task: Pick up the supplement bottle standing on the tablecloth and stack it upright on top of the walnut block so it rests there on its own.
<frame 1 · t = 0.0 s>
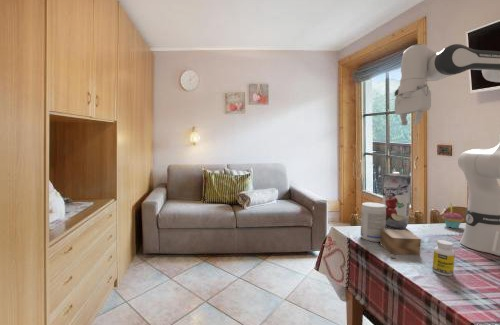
hand: (410, 124, 107), 48 cm above the table, tool pointing down, fingers open, 8 cm apart
juice carton: (394, 227, 132), on the table
cupcake: (452, 227, 134), on the table
supplement tub: (372, 238, 116), on the table
supplement bottle: (442, 272, 87), on the table
walnut block: (399, 249, 105), on the table
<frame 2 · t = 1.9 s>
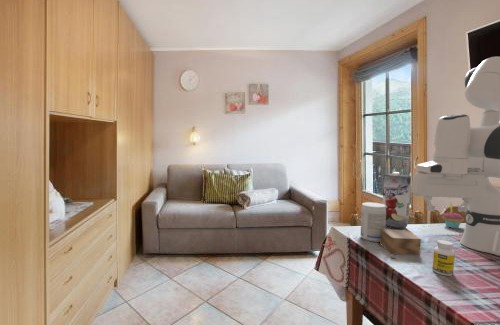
hand: (446, 211, 85), 20 cm above the table, tool pointing down, fingers open, 8 cm apart
nothing on the table moved.
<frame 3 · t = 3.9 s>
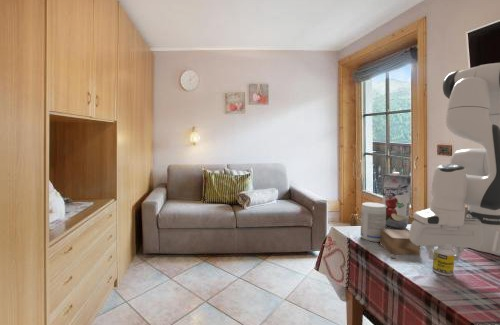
hand: (443, 259, 86), 4 cm above the table, tool pointing down, fingers closed on supplement bottle, 5 cm apart
supplement bottle: (442, 272, 87), on the table, touching gripper
everything else where it was.
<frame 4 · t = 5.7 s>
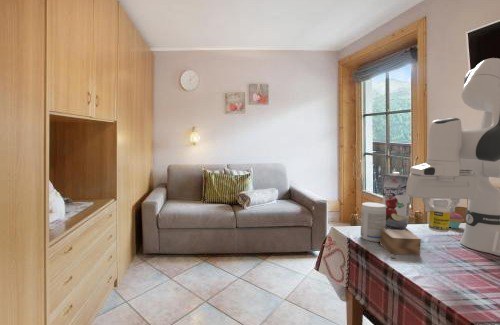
hand: (439, 211, 88), 19 cm above the table, tool pointing down, fingers closed on supplement bottle, 5 cm apart
supplement bottle: (438, 230, 88), point 13 cm above the table, touching gripper
everything else where it was.
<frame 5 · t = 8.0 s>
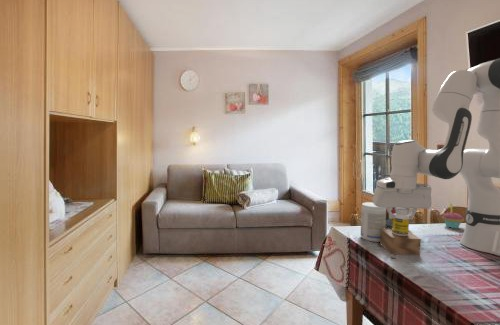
hand: (400, 218, 104), 12 cm above the table, tool pointing down, fingers closed on supplement bottle, 5 cm apart
supplement bottle: (399, 234, 104), point 6 cm above the table, touching gripper, walnut block
everything else where it was.
when the fingers open (12 cm above the table, at t = 8.3 s): supplement bottle stays where it is, resting on walnut block.
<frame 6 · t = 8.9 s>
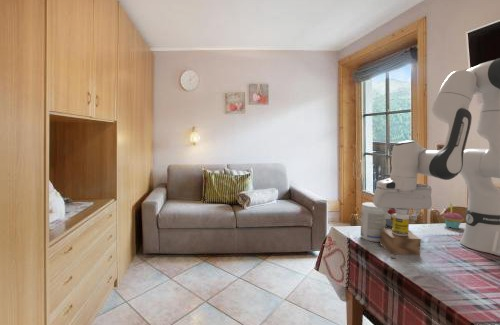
hand: (400, 219, 104), 12 cm above the table, tool pointing down, fingers open, 8 cm apart
supplement bottle: (399, 234, 104), point 6 cm above the table, touching walnut block
everything else where it was.
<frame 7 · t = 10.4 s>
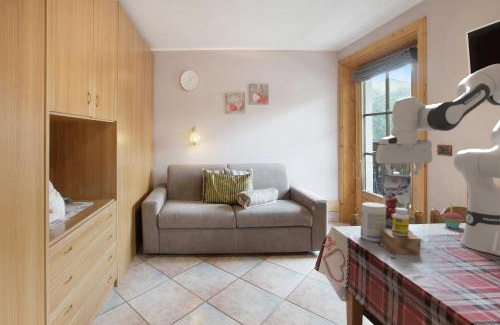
hand: (402, 174, 107), 28 cm above the table, tool pointing down, fingers open, 8 cm apart
nothing on the table moved.
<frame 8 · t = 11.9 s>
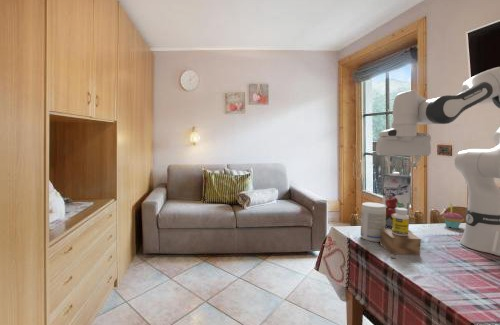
hand: (401, 166, 110), 31 cm above the table, tool pointing down, fingers open, 8 cm apart
nothing on the table moved.
at the end: supplement bottle inside the target area on the walnut block (0.2 cm from its centre), point 5.8 cm above the walnut block's base; supplement bottle tilted 0°; the gripper is holding nothing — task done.
